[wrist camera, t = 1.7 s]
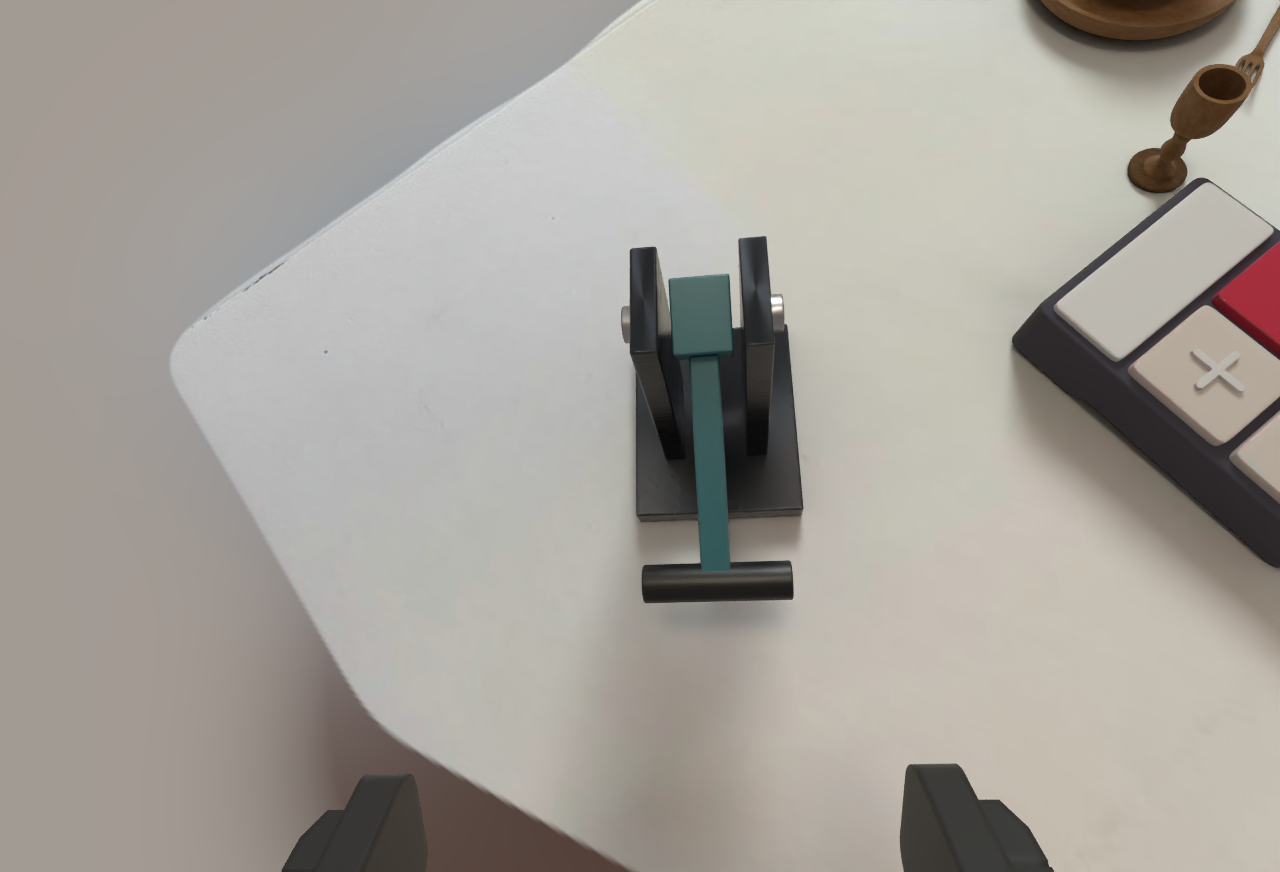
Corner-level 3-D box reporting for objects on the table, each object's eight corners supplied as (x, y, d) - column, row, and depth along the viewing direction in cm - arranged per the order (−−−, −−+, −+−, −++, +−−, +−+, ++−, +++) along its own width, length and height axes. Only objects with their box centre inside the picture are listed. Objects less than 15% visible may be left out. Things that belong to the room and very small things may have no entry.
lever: (790, 591, 28) (795, 607, 26) (648, 594, 29) (641, 611, 27) (773, 281, 28) (777, 269, 26) (631, 293, 29) (621, 282, 26)
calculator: (1346, 560, 28) (1041, 299, 32) (1266, 574, 32) (1006, 340, 36) (1531, 389, 29) (1212, 161, 34) (1432, 424, 33) (1159, 216, 38)
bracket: (801, 515, 35) (828, 417, 23) (639, 521, 36) (585, 431, 24) (786, 334, 39) (801, 168, 27) (638, 344, 40) (591, 190, 28)
